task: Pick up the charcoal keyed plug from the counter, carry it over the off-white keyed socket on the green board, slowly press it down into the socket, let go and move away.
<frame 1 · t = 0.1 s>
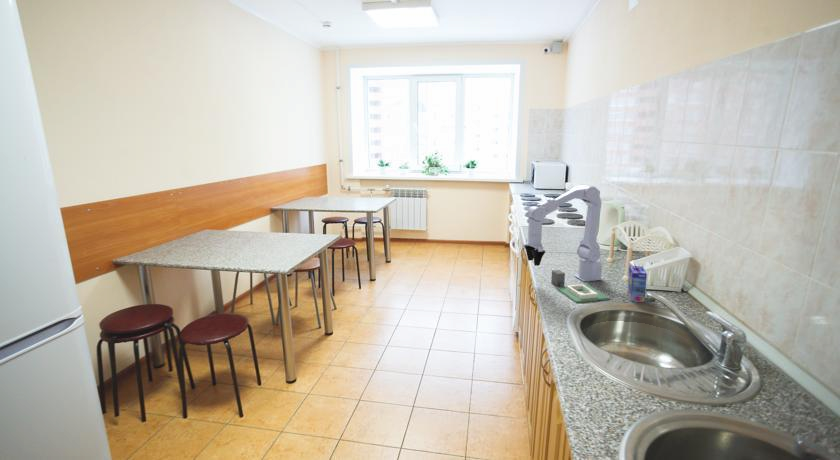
hand: (533, 262, 181), 10 cm above the worktop, tool pointing down, fingers open, 7 cm apart
header board: (582, 294, 170), on the worktop
plug: (557, 284, 182), on the worktop
ink cartridge box: (635, 297, 166), on the worktop
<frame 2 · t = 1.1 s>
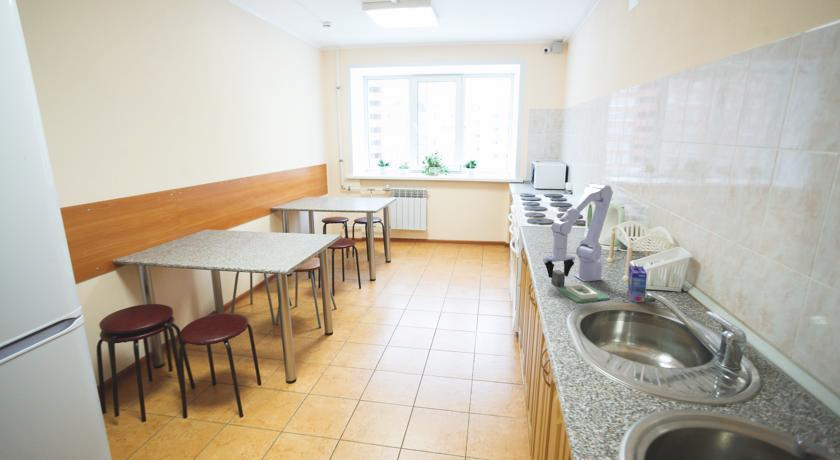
hand: (558, 276, 181), 4 cm above the worktop, tool pointing down, fingers open, 7 cm apart
nothing on the worktop moved.
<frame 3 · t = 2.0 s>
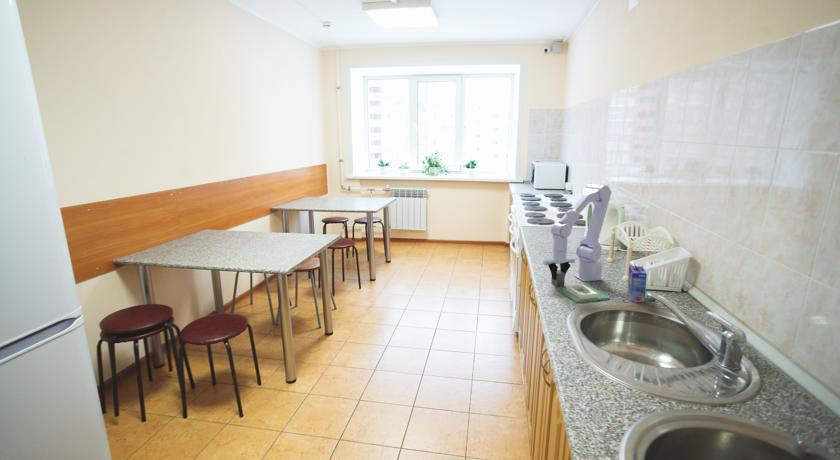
hand: (558, 278, 181), 3 cm above the worktop, tool pointing down, fingers closed on plug, 3 cm apart
plug: (557, 284, 182), on the worktop, touching gripper
everything else where it was.
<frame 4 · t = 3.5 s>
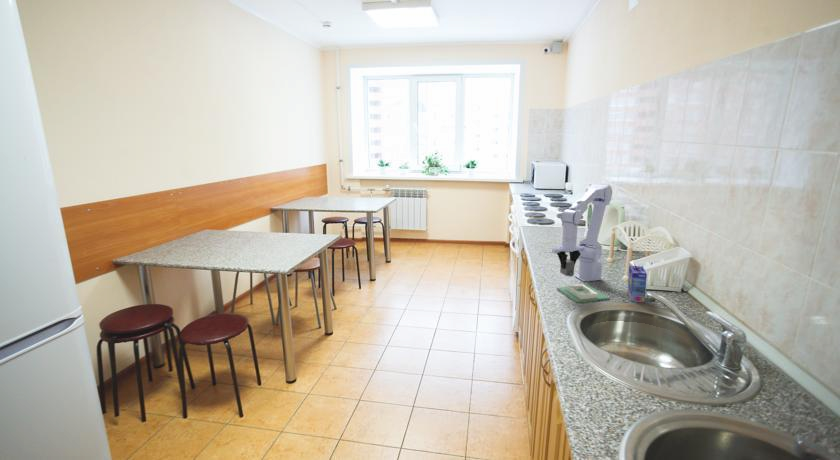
hand: (567, 267, 175), 9 cm above the worktop, tool pointing down, fingers closed on plug, 3 cm apart
plug: (566, 273, 175), point 7 cm above the worktop, touching gripper
everything else where it was.
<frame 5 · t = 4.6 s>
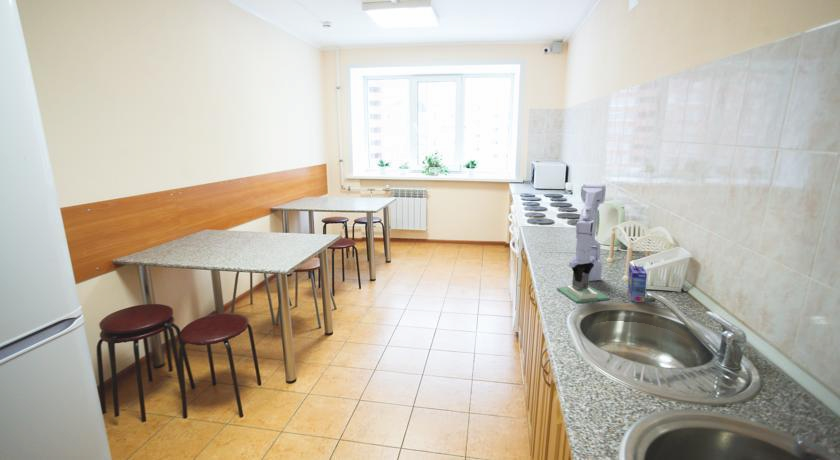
hand: (581, 280, 168), 6 cm above the worktop, tool pointing down, fingers closed on plug, 3 cm apart
plug: (580, 286, 169), point 4 cm above the worktop, touching gripper
everything else where it was.
when the fingers open (4 cm above the worktop, at t = 5.4 s): plug stays where it is, resting on header board.
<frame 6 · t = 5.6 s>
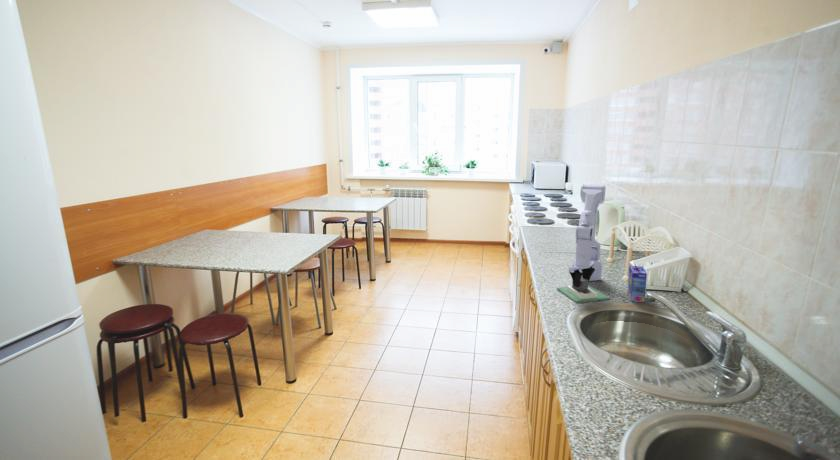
hand: (580, 285, 169), 4 cm above the worktop, tool pointing down, fingers open, 5 cm apart
plug: (579, 292, 170), point 1 cm above the worktop, touching header board
everything else where it was.
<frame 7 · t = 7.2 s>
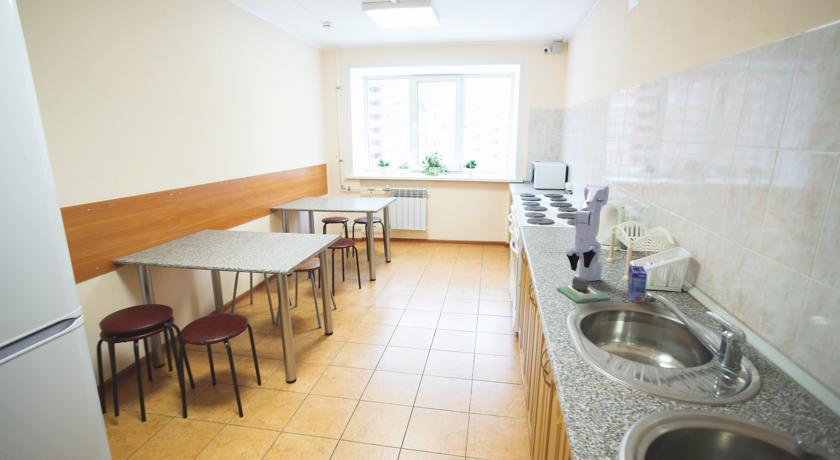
hand: (580, 268, 174), 9 cm above the worktop, tool pointing down, fingers open, 7 cm apart
nothing on the worktop moved.
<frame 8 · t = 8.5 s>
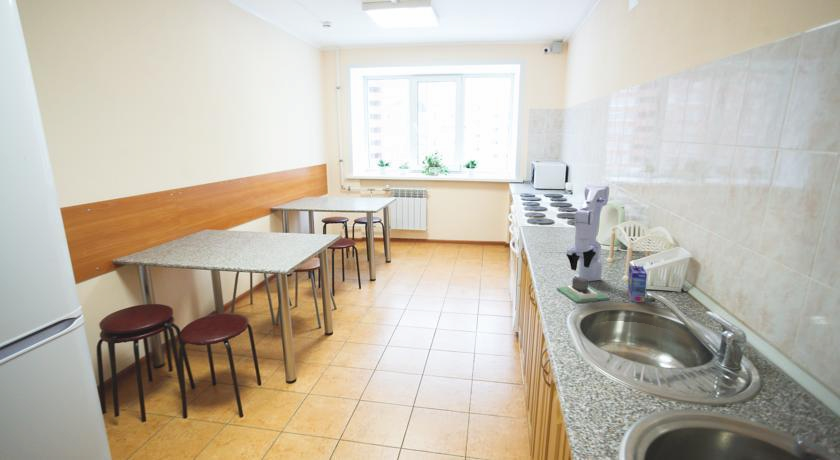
hand: (580, 268, 174), 9 cm above the worktop, tool pointing down, fingers open, 7 cm apart
nothing on the worktop moved.
at the end: plug 0.3 cm from the target spot on the header board, point 0.8 cm above the header board's base; plug tilted 0°; the gripper is holding nothing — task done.
